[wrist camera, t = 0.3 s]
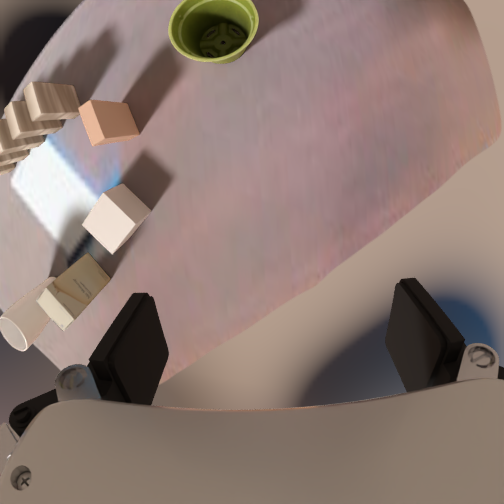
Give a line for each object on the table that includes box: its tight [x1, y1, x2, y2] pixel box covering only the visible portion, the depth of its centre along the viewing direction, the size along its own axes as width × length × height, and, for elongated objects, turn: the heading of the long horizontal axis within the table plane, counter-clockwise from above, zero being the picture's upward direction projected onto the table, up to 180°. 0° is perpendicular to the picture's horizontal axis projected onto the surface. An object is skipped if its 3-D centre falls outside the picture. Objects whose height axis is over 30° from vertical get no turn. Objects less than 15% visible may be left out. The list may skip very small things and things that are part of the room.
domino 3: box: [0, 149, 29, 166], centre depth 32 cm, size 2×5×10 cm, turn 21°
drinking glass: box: [0, 277, 56, 351], centre depth 40 cm, size 7×7×15 cm
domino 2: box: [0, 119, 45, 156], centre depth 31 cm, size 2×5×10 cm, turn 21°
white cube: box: [82, 183, 151, 254], centre depth 38 cm, size 6×6×6 cm
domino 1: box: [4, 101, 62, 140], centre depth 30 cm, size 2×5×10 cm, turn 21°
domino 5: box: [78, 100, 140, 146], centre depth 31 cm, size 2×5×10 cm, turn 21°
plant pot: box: [168, 0, 259, 64], centre depth 27 cm, size 9×9×9 cm
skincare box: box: [36, 253, 111, 332], centre depth 40 cm, size 6×4×12 cm
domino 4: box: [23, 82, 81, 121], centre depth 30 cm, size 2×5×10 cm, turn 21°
